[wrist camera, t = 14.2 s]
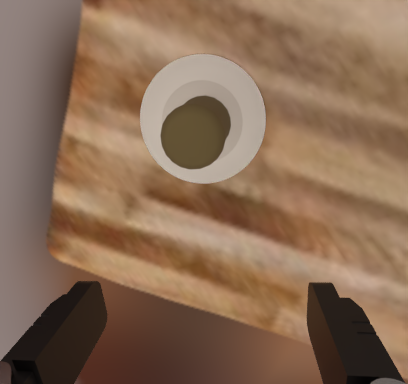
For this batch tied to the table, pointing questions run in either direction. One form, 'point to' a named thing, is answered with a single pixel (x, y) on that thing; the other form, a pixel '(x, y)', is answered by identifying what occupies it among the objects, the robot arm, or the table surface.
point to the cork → (196, 132)
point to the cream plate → (214, 87)
